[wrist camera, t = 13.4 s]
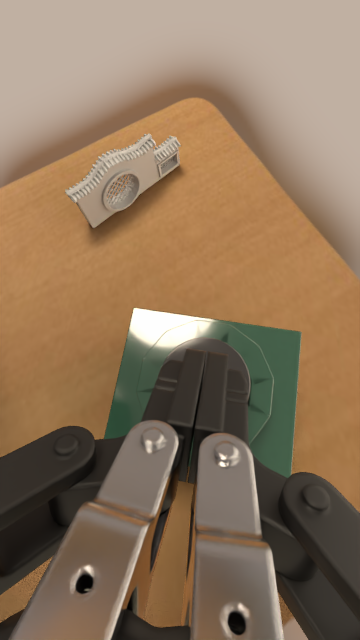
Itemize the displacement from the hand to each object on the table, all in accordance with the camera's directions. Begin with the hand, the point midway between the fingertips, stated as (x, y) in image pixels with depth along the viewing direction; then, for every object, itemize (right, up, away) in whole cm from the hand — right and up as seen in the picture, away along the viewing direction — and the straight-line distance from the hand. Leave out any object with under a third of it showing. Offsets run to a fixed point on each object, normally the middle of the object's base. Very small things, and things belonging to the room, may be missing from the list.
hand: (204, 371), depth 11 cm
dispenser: (+1, -5, +15) cm, 16 cm away
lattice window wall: (-6, +15, +22) cm, 27 cm away
